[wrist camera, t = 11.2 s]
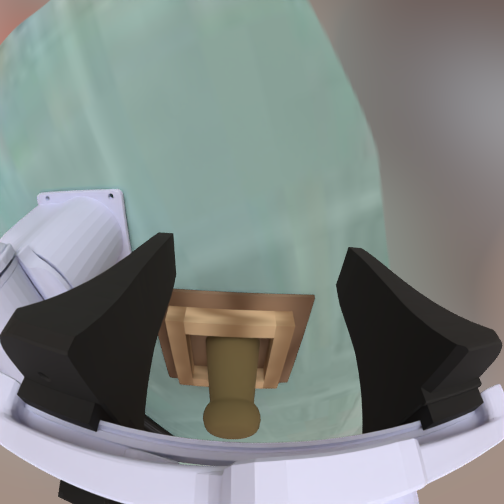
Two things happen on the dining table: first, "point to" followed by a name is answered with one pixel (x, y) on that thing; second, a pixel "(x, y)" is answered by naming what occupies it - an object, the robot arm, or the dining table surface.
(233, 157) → the dining table surface
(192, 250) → the dining table surface
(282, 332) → the socket block
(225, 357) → the cork
